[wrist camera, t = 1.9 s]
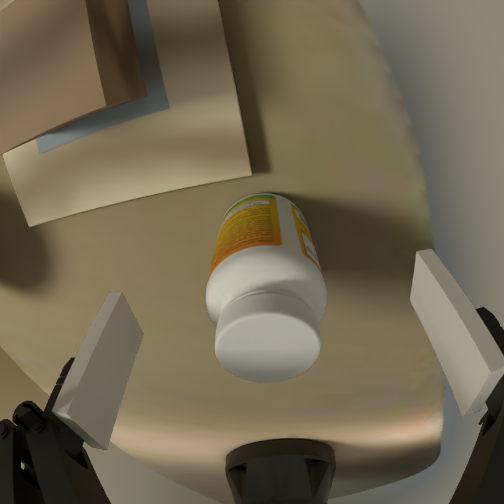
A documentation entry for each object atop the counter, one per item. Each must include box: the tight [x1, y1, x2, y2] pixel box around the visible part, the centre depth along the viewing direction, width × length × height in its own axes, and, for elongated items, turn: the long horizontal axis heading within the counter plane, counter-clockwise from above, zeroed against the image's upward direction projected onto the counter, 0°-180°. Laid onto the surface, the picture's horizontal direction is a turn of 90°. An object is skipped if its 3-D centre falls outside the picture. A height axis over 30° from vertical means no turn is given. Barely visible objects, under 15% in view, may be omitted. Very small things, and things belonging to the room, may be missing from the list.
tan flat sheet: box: [0, 0, 252, 227], centre depth 14 cm, size 18×16×1 cm
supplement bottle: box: [206, 193, 327, 382], centre depth 16 cm, size 5×5×10 cm
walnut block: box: [0, 0, 147, 155], centre depth 11 cm, size 7×7×5 cm
